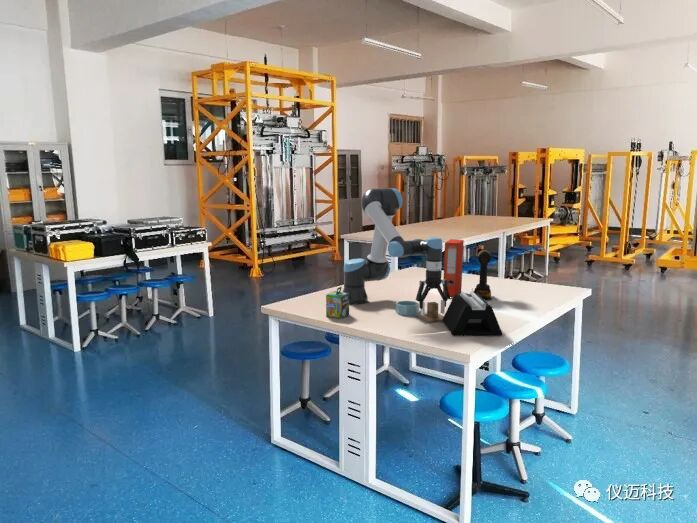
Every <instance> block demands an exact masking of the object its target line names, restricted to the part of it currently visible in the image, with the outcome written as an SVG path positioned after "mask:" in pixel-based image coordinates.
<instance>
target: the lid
mask: <svg viewBox="0 0 697 523" xmlns="http://www.w3.org/2000/svg"><path fill="white" fill-rule="evenodd" d="M426 303H427V304H426V306H427V307H426V313H424V316H423V315H421V314H416V315H415V316H416V317H417V318H419V319H421V320H422V321H424V322H426V323H432V322H443V320H442V319H443V317H444V315H443V314H442V313H439V302H436V301H428V302H426ZM432 324H433V323H432Z"/></svg>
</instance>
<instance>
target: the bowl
mask: <svg viewBox="0 0 697 523" xmlns="http://www.w3.org/2000/svg"><path fill="white" fill-rule="evenodd" d="M419 310H420V308H419V302H418V301H417V302H416V301H414V300H400V301H397V302H395V313H396V314H397V315H400V316H416V315H419V312H420V311H419Z"/></svg>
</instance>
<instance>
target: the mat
mask: <svg viewBox="0 0 697 523" xmlns="http://www.w3.org/2000/svg"><path fill="white" fill-rule="evenodd" d="M411 316H412V318H414V319H416V320H418V321H420V323H423V324H424V325H431V324H440V323H441V324H442V323H443V324H445V323H444V322H432V323H426V322H424V321H422V320H421V319H419V318H417V317H416V315H411Z"/></svg>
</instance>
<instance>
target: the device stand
mask: <svg viewBox="0 0 697 523" xmlns="http://www.w3.org/2000/svg"><path fill="white" fill-rule="evenodd" d="M473 291H474V290H471V291H470V292H469V295H471V296H468V295H467V294H466V293H465V291H462V290H461V293H460V294H455V295H454V297H453V298H451V301H450V303H449V305H448V307H447V310H446V312H444V314H443V316H444V317H443V319H442V320H443V322H444V323H443V324H444V325H445V326H446V328H447V329H448V331H449V332H450V334H451V335H452V336H453V337H502V336H503V332H502V329H501V327H500V324H499V322H498V318H497V316H496V314H495V312H494V309H493V306H492V305H490V304H489V303H488V302H487V300H484V299H483V298H482V297H480V296H479V295H478V294H475V293H474V292H473Z"/></svg>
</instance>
